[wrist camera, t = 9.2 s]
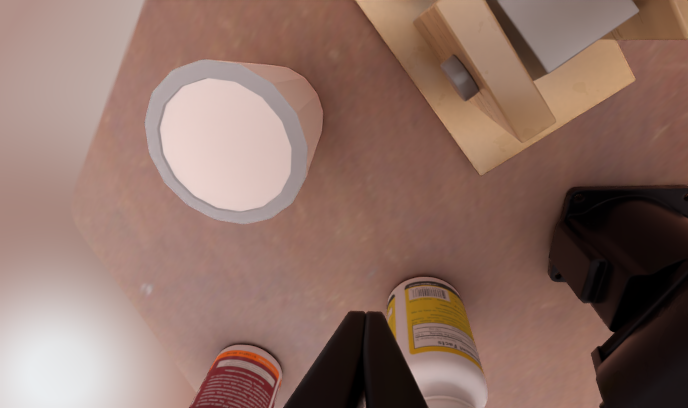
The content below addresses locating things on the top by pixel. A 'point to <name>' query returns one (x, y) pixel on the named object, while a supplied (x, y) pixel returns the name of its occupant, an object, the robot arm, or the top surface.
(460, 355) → the supplement bottle
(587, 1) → the lever
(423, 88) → the butter cutter
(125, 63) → the top surface
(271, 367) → the pill bottle
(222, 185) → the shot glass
